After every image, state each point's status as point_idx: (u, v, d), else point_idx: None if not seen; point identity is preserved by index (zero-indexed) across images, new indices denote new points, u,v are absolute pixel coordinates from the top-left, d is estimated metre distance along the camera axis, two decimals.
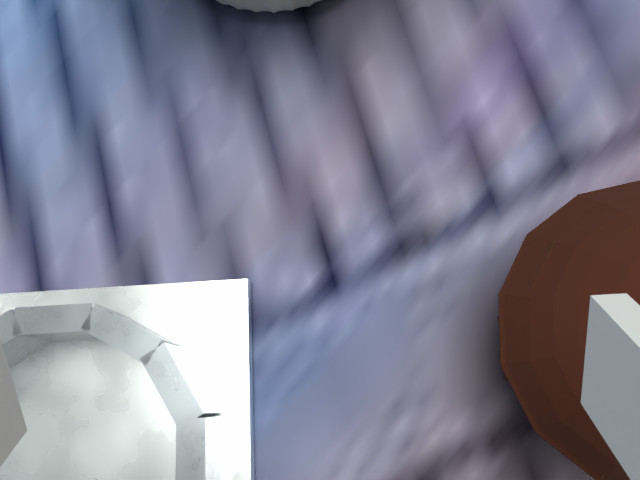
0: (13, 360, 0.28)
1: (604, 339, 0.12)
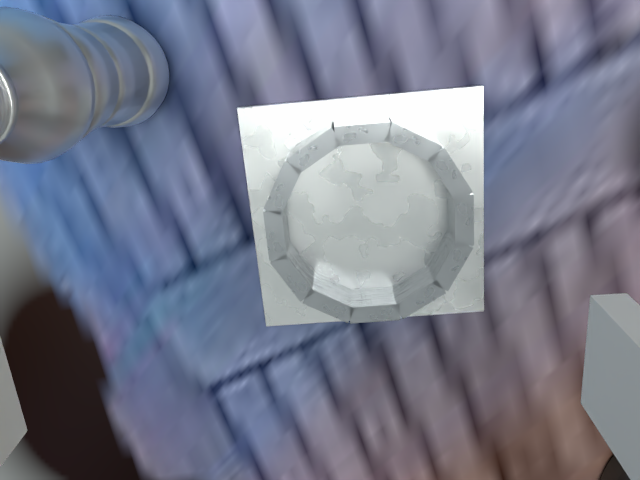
0: None
1: (604, 339, 0.12)
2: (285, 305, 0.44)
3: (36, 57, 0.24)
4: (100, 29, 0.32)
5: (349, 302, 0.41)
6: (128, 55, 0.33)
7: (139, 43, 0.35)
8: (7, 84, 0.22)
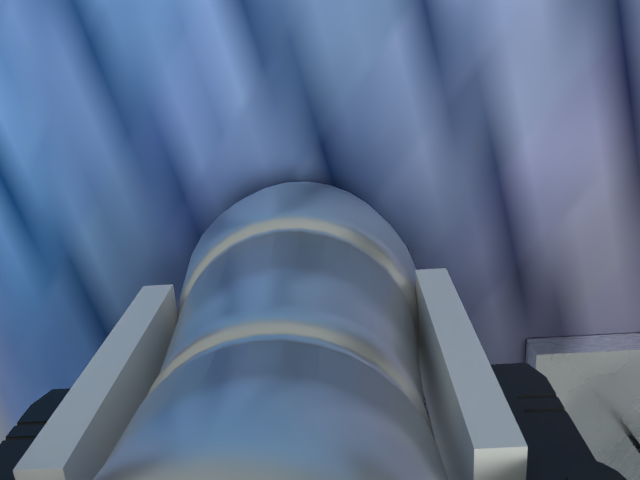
0: None
1: (420, 306, 0.14)
2: None
3: None
4: (349, 291, 0.11)
5: None
6: (413, 350, 0.12)
7: (400, 278, 0.14)
8: None
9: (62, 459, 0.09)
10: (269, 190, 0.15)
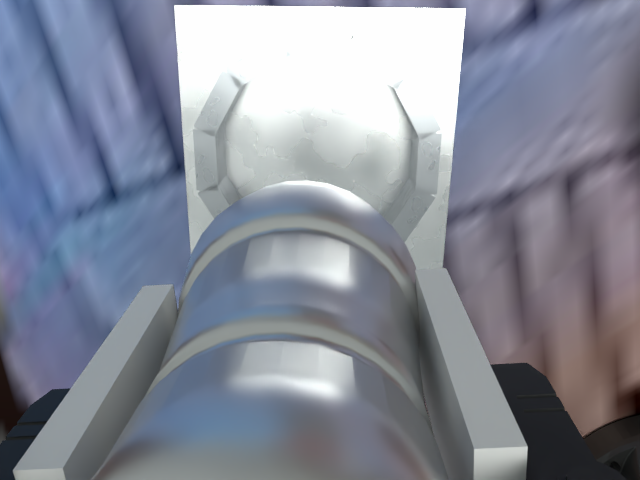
0: None
1: (420, 306, 0.14)
2: None
3: None
4: (349, 290, 0.11)
5: None
6: (413, 349, 0.12)
7: (400, 276, 0.14)
8: None
9: (62, 459, 0.09)
10: (269, 189, 0.15)
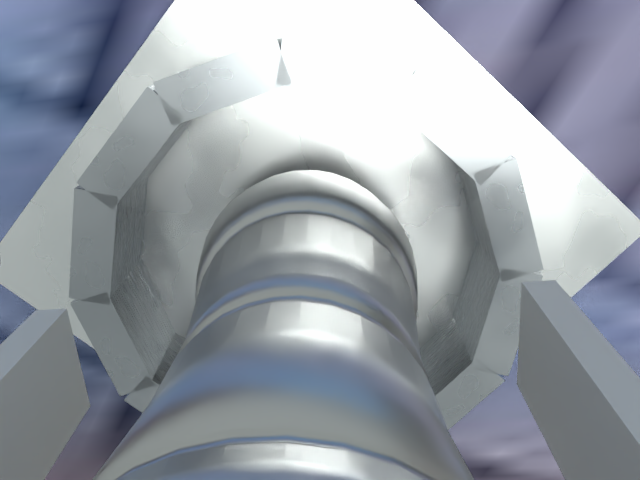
0: None
1: (531, 322, 0.13)
2: (44, 266, 0.21)
3: None
4: (355, 263, 0.13)
5: (154, 364, 0.19)
6: (411, 317, 0.13)
7: (398, 255, 0.15)
8: None
9: None
10: (278, 177, 0.17)
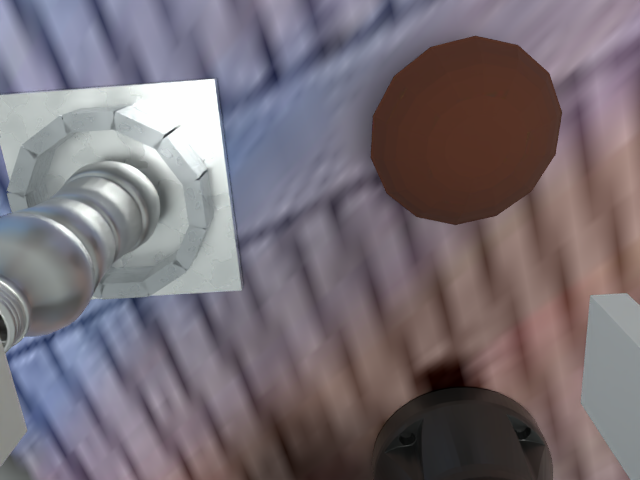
0: (65, 140, 0.42)
1: (604, 339, 0.12)
2: None
3: (10, 245, 0.28)
4: (64, 189, 0.37)
5: (102, 279, 0.44)
6: (96, 189, 0.37)
7: (101, 174, 0.39)
8: None
9: None
10: None
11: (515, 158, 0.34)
